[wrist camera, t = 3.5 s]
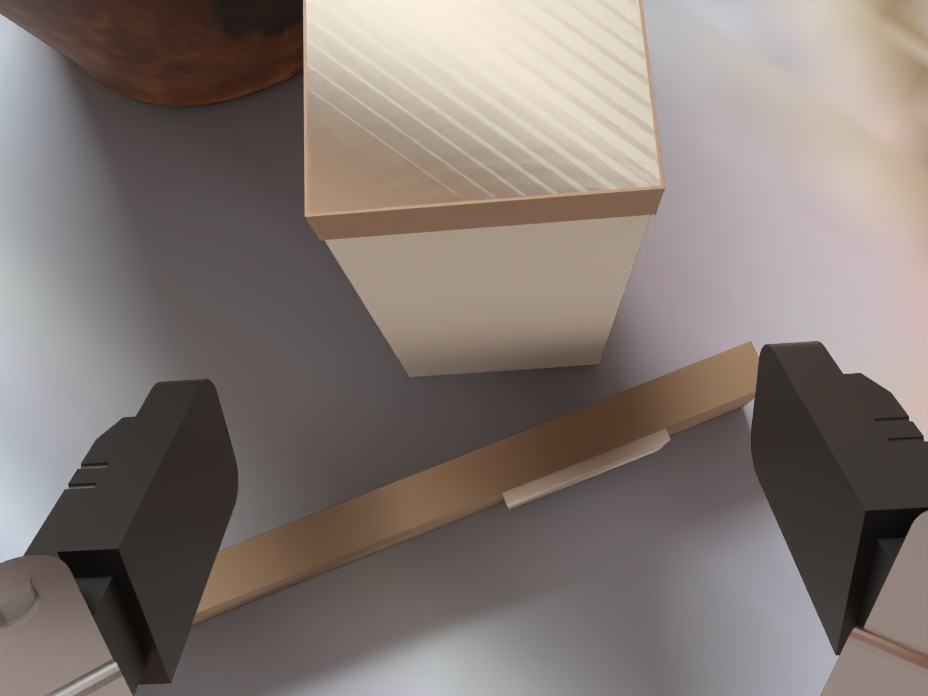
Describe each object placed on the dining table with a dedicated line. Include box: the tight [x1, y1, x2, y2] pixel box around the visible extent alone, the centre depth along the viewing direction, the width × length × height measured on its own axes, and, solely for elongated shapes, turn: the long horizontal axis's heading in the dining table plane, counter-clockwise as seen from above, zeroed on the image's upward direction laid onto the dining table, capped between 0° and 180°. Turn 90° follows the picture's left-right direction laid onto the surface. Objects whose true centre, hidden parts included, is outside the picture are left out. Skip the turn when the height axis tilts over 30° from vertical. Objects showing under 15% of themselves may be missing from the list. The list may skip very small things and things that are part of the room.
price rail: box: [192, 342, 759, 625], centre depth 23 cm, size 24×2×3 cm, turn 111°
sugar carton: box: [303, 0, 665, 377], centre depth 20 cm, size 6×6×12 cm
